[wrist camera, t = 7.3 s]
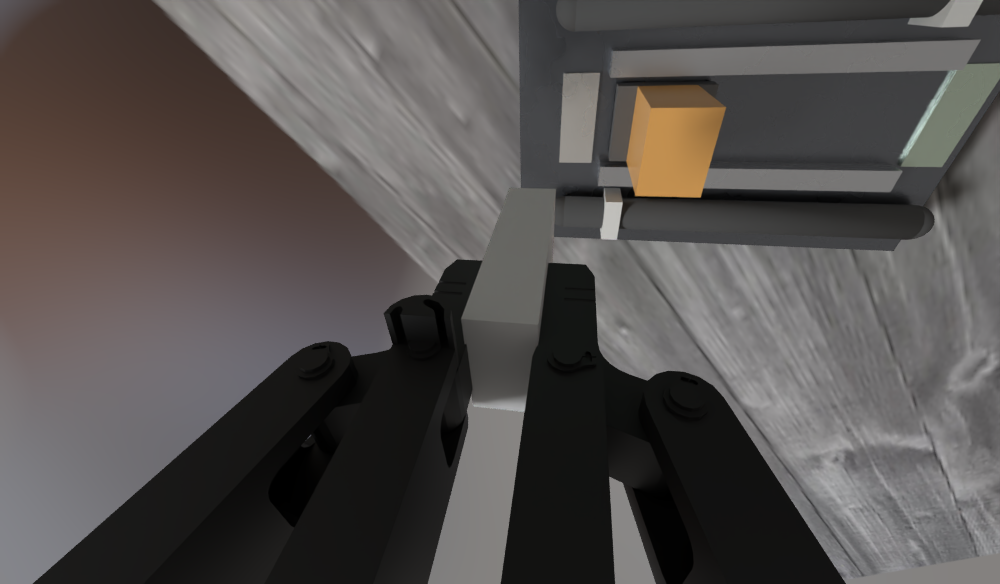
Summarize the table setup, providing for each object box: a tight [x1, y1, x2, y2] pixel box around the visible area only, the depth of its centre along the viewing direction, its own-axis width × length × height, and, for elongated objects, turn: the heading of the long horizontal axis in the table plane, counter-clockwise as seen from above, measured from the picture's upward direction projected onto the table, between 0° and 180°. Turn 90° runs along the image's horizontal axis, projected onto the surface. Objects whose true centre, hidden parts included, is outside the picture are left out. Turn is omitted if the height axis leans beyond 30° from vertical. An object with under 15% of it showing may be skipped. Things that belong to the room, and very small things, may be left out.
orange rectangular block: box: [608, 81, 726, 198], centre depth 20 cm, size 4×5×6 cm
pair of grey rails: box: [554, 0, 1000, 240], centre depth 21 cm, size 14×22×2 cm, turn 92°
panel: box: [519, 0, 1000, 251], centre depth 22 cm, size 16×24×3 cm, turn 92°
